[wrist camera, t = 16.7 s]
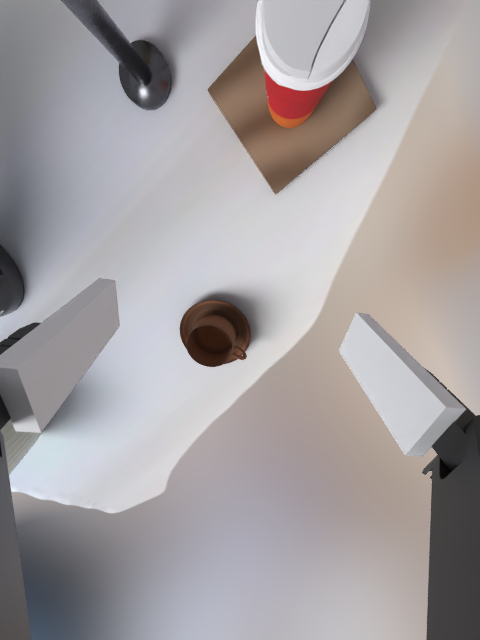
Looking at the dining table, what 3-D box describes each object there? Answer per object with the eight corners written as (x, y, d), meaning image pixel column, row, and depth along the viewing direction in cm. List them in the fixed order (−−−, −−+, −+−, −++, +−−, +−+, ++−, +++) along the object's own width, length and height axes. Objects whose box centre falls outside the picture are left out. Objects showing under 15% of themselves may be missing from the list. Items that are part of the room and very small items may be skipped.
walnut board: (209, 94, 30) (207, 89, 29) (309, -16, 26) (311, -27, 24) (275, 194, 33) (275, 193, 32) (372, 113, 29) (376, 109, 28)
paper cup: (298, 34, 26) (331, -138, 13) (339, 100, 28) (403, 2, 15) (244, 99, 29) (229, 6, 16) (285, 155, 31) (300, 112, 18)
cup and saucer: (256, 303, 40) (255, 318, 34) (244, 364, 45) (242, 385, 39) (185, 290, 40) (172, 302, 35) (181, 352, 45) (169, 371, 40)
